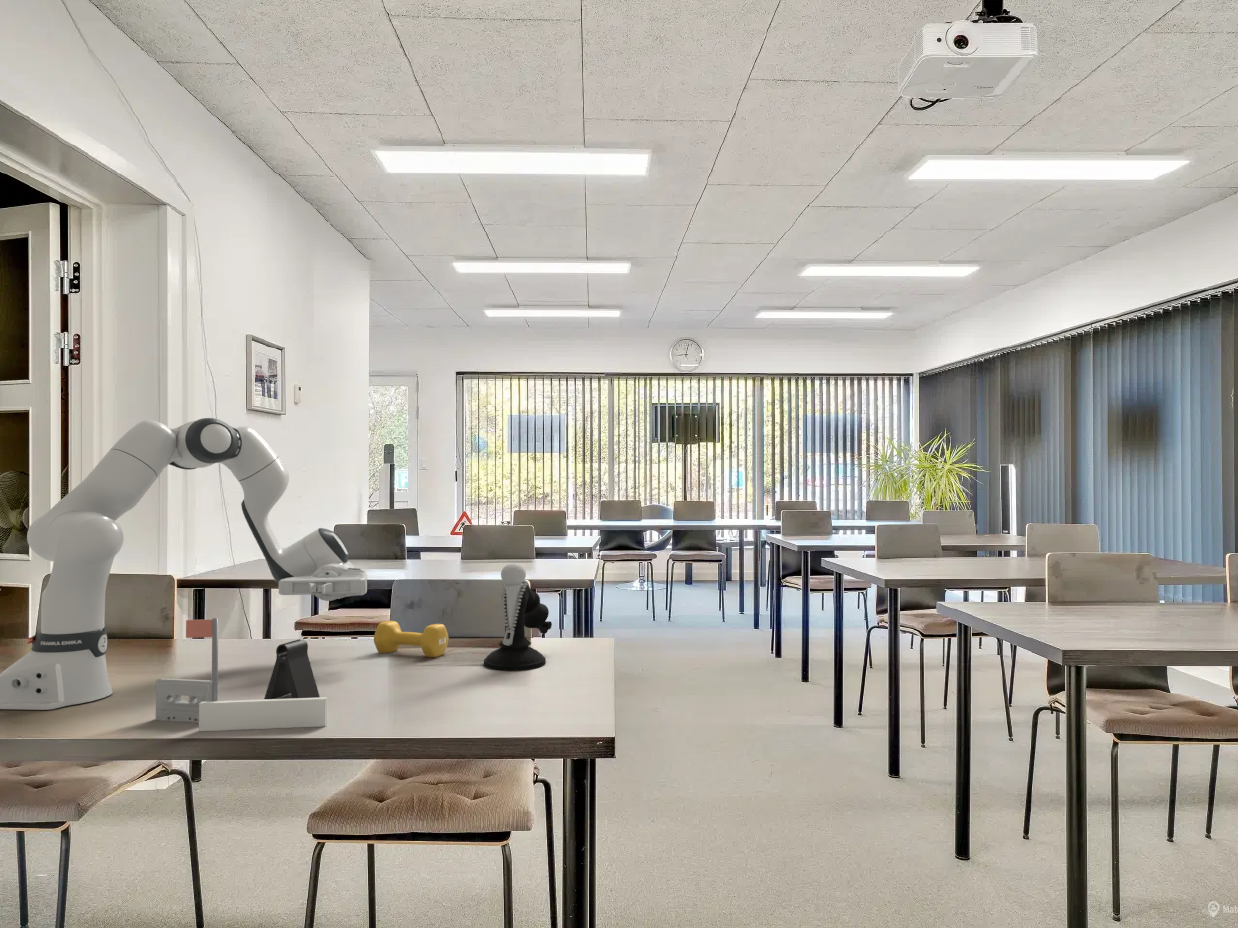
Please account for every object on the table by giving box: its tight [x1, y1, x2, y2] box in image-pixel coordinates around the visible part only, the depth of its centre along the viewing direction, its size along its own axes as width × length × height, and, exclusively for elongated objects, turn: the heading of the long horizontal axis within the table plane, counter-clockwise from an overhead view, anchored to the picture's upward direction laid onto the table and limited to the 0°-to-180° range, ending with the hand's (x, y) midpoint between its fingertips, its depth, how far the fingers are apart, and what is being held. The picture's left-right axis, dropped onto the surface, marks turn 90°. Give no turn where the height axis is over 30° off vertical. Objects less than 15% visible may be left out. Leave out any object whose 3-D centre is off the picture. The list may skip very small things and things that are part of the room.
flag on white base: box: [185, 617, 328, 732], centre depth 154 cm, size 25×14×20 cm, turn 98°
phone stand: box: [263, 638, 320, 700], centre depth 167 cm, size 9×6×12 cm, turn 72°
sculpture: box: [483, 562, 553, 672], centre depth 204 cm, size 15×24×25 cm, turn 157°
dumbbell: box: [373, 620, 449, 658], centre depth 212 cm, size 19×9×8 cm, turn 70°
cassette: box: [155, 677, 212, 724], centre depth 153 cm, size 12×2×8 cm, turn 80°
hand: (316, 589), depth 188 cm, fingers closed
